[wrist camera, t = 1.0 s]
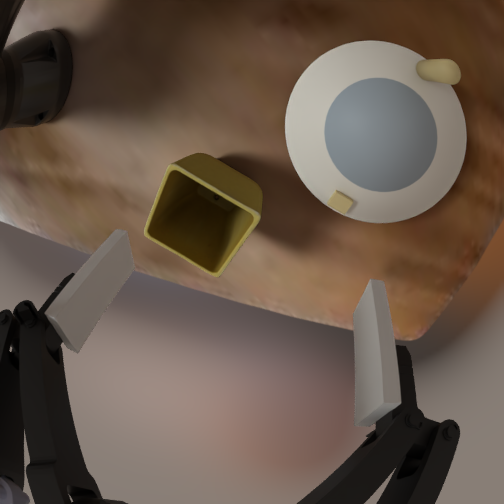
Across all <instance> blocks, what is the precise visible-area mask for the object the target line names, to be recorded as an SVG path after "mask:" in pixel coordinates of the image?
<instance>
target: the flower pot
mask: <svg viewBox="0 0 504 504" xmlns="http://www.w3.org/2000/svg"><path fill="white" fill-rule="evenodd" d="M215 195H217V196H218V197H219V198H218V199H215V198H214V196H215ZM262 200H263V194H262V190H261V188H260V187H259V185H258V184H257V183H256V182H254V181H253V180H251V179H250V178H248V177H246V176H245V175H243V174H241V173H240V172H238V171H236V170H234V169H233V168H231V167H229V166H228V165H226V164H224V163H223V162H221V161H219V160H217V159H216V158H214V157H212V156H210V155H208V154H204V153H195V154H192V155H189V156H187V157H185V158H183V159H181V160H178V161H176V162H174V163H172V164H170V165H169V166H168V168H167V170H166V172H165V175H164V177H163V180H162V183H161V186H160V188H159V191H158V193H157V196H156V199H155V201H154V204H153V207H152V210H151V212H150V215H149V217H148V220H147V223H146V226H145V229H144V235H145V236H146V237H147V238H149V239H150V240H152V241H154V242H155V243H157V244H159V245H161V246H163V247H164V248H166V249H168V250H170V251H171V252H173V253H175V254H177V255H179V256H180V257H182V258H184V259H185V260H187V261H189V262H190V263H192V264H193V265H195V266H197V267H198V268H200V269H202V270H203V271H205V272H207V273H208V274H211V275H213V276H215V277H220V276H221V274H222V273H223V272H224V270H225V269H226V267H227V266H228V264H229V263H230V261H231V260H232V259H233V257H234V256H235V254H236V253H237V252H238V250H239V249H240V247H241V246H242V245H243V243H244V242H245V240H246V239H247V238H248V236H249V235H250V234H251V232H252V231H253V230H254V228H255V227H256V226H257V224H258V223H259V221H260V219H261V212H262Z"/></svg>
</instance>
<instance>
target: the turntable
mask: <svg viewBox="0 0 504 504" xmlns="http://www.w3.org/2000/svg"><path fill="white" fill-rule="evenodd" d="M460 78H461V72H460V69H459V67H458V65H457V64H456V63H455V62H454V61H452V60H450V59H430V60H426V59H425V58H424V57H422V56H421V55H419V54H417V53H415V52H414V51H412V50H410V49H408V48H405V47H402V46H400V45H397V44H393V43H388V42H383V41H357V42H352V43H348V44H344V45H341V46H339V47H336V48H334V49H332V50H330V51H328V52H326V53H325V54H323V55H321V56H320V57H319V58H318V59H316V60H315V61H314V62H313V63H312V64H311V65H310V66H309V67H308V68H307V69H306V70H305V71H304V72H303V74H302V75H301V77H300V78H299V80H298V81H297V83H296V85H295V87H294V89H293V91H292V93H291V95H290V99H289V102H288V106H287V111H286V118H285V135H286V143H287V148H288V151H289V155H290V158H291V161H292V163H293V166H294V168H295V170H296V172H297V173H298V175H299V177H300V179H301V180H302V181H303V183H304V184H305V185H306V187H307V188H308V189H309V190H310V191H311V192H312V194H313V195H314V196H315V197H316V198H318V199H319V200H320V201H321V202H322V203H324V204H325V205H326V206H328V207H329V208H331V209H332V210H334V211H336V212H338V213H340V214H342V215H344V216H347V217H350V218H352V219H355V220H360V221H364V222H371V223H391V222H398V221H402V220H406V219H409V218H412V217H414V216H417V215H419V214H421V213H423V212H425V211H426V210H428V209H429V208H431V207H432V206H434V205H435V204H436V203H437V202H438V201H439V200H441V199H442V198H443V197H444V195H445V194H446V193H447V192H448V191H449V190H450V188H451V187H452V185H453V184H454V182H455V180H456V178H457V176H458V174H459V172H460V170H461V167H462V164H463V161H464V156H465V151H466V141H467V135H466V124H465V118H464V114H463V110H462V107H461V104H460V102H459V100H458V97H457V95H456V93H455V91H454V90H453V88H452V86H451V85H454V84H457V83H458V82H459V81H460ZM450 84H451V85H450Z"/></svg>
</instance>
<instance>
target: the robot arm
mask: <svg viewBox="0 0 504 504" xmlns="http://www.w3.org/2000/svg"><path fill="white" fill-rule="evenodd" d="M24 1H25V0H0V130H3V129H5V128H16V127H34V126H38V125H40V124H43V123H45V122H47V121H49V120H51V119H53V118H54V117H55V116H56V115H57V114H58V112H59V111H60V109H61V108H62V106H63V104H64V102H65V100H66V97H67V95H68V91H69V87H70V83H71V76H72V58H71V52H70V48H69V45H68V43H67V41H66V39H65V37H64V36H63V35H62V34H61V33H59V32H58V31H55V30H44V31H37V32H34V33H32V34H30V35H28V36H26V37H24V38H22V39H20V40H18V41H16V42H15V43H13V44H11V45H9V46H7V47H6V48H4V47H5V44H6V41H7V38H8V36H9V33H10V31H11V29H12V26H13V24H14V22H15V19H16V17H17V15H18V13H19V11H20V9H21V7H22V5H23V3H24ZM134 269H135V265H134V261H133V256H132V252H131V247H130V242H129V237H128V232H127V231H125V230H120V229H116V230H115V231H114V232H113V233H112V234H111V235H110V236H109V237H108V238H107V239H106V240H105V241H104V243H103V244H102V245H101V246H100V247H99V248H98V249H97V250H96V251H95V252H94V253H93V255H92V256H91V257H90V258H89V259H88V260H87V262H85V264H84V265H83V266H82V267H81V268H80V269H79V271H78V272H77V273H76V274H74V273H72V274H70V275H69V276H67V277H66V278H64V280H63V281H62V282H61V283H60V284H59V287H57V288H56V289H55V291H54V292H53V293H52V294H51V295H50V297H49V298H48V299H47V301H46V302H45V303H44V304H43V306H42V307H41V308H40V310H39V311H37V309H36V308H35V306H34V305H33V303H32V302H31V301H29V300H25V301H22V302H20V303H19V304H18V305H17V306H16V307H15V309H14V311H13V314H12V313H11V311H10V310H7V309H6V310H3V311H1V312H0V504H29V502H30V499H29V496H28V495H27V494H26V493H24V492H23V487H24V429H25V435H26V441H27V446H28V451H29V456H30V464H28V465H27V467H26V474H27V478H28V482H29V486H30V489H31V492H32V496H33V499H34V502H35V504H128V503H125V502H123V501H116V500H108V499H103V498H102V496H101V494H100V491H99V489H98V486H97V484H96V482H95V480H94V478H93V477H92V476H91V475H90V474H89V472H88V470H87V468H86V465H85V462H84V459H83V455H82V452H81V449H80V445H79V441H78V438H77V434H76V430H75V426H74V421H73V417H72V412H71V407H70V402H69V397H68V391H67V385H66V378H65V371H64V363H63V353H62V348H61V346H60V345H61V343H62V342H64V344H65V345H66V347H67V348H68V349H70V350H73V351H74V352H76V353H79V351H80V349H81V348H82V346H83V344H84V343H85V341H86V340H87V338H88V337H89V335H90V333H91V332H92V330H93V329H94V327H95V326H96V324H97V322H98V321H99V320H100V318H101V316H102V315H103V313H104V312H105V310H106V309H107V307H108V306H109V305H110V303H111V302H112V300H113V299H114V297H115V296H116V294H117V293H118V291H119V290H120V289H121V287H122V286H123V284H124V283H125V282H126V280H127V279H128V277H129V276H130V275H131V273H132V272H133V270H134ZM14 316H15V317H14ZM353 324H354V346H355V418H354V426H371V425H373V424H374V423H375V422H376V429H375V430H374V431H372V432H371V433H369V434H368V435H367V436H366V437H368V438H367V439H366V440H365V441H364V442H363V443H362V444H361V445H360V447H359V448H358V449H357V450H356V451H355V452H354V453H353V454H352V455H351V456H350V457H349V458H348V459H347V460H346V461H345V462H344V463H343V464H342V465H341V466H340V467H339V468H338V469H337V470H335V471H334V473H332V474H331V475H330V476H329V477H328V478H327V479H326V480H325V481H323V482H322V483H321V484H320V485H319V486H318V487H316V488H315V489H314V490H313V491H312V492H311V493H309V494H308V495H307V496H306V497H304V498H303V499H302V500H301V501H299V502H298V503H297V504H364V503H365V502H366V501H367V500H368V499H369V498H370V497H371V496H372V495H373V494H374V492H375V491H376V490H377V489H378V488H379V487H380V486H381V485H382V483H383V482H384V481H385V480H386V479H387V478H388V476H389V475H390V474H391V473H392V472H393V470H394V469H395V468H396V469H395V471H394V473H393V475H392V477H391V479H390V481H389V483H388V485H387V486H386V488H385V490H384V492H383V493H382V495H381V497H380V499H379V501H378V502H377V504H435V502H436V500H437V498H438V496H439V494H440V491H441V489H442V486H443V484H444V482H445V479H446V476H447V474H448V471H449V469H450V466H451V462H452V460H453V457H454V454H455V451H456V448H457V444H458V441H459V437H460V429H459V426H458V424H457V423H456V422H455V421H454V420H450V419H449V420H445V421H443V422H442V423H439V422H436V421H433V420H430V419H427V418H425V417H424V414H423V413H422V411H421V410H420V409H418V407H417V402H416V392H415V383H414V376H413V368H412V360H411V355H410V353H409V351H408V350H407V348H406V346H399V345H395V339H394V333H393V327H392V321H391V315H390V309H389V304H388V299H387V294H386V289H385V284H384V281H380V280H375V279H370V281H369V283H368V285H367V287H366V289H365V291H364V293H363V295H362V297H361V299H360V301H359V303H358V305H357V307H356V309H355V311H354V313H353ZM10 346H11V347H12V352H10V351H9V350H10ZM68 494H69V495H70V496H71V498H72V500H73V502H71V500H70V497H69V495H68Z"/></svg>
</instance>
